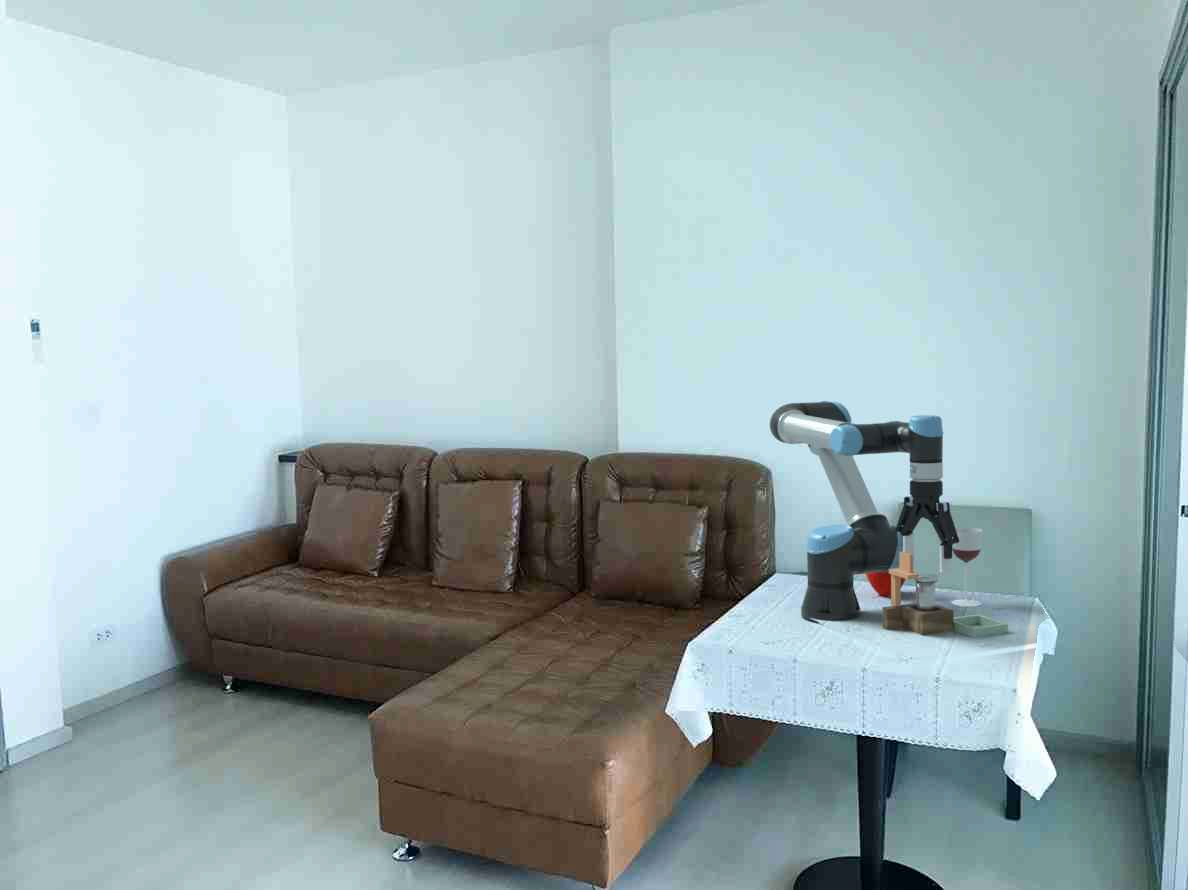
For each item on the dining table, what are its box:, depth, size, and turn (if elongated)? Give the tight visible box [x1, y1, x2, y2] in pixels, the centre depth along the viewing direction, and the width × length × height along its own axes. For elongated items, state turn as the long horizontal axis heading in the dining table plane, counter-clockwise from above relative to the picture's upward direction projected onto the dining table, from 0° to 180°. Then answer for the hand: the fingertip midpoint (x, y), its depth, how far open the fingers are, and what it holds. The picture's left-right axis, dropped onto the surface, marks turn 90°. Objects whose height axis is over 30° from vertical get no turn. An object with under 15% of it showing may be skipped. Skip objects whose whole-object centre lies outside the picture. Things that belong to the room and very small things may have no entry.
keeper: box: [889, 551, 919, 607], centre depth 236 cm, size 7×3×13 cm, turn 20°
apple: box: [865, 571, 907, 597], centre depth 275 cm, size 12×12×13 cm
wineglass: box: [951, 526, 984, 607], centre depth 263 cm, size 8×9×20 cm
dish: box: [953, 613, 1009, 639], centre depth 236 cm, size 10×10×3 cm
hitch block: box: [882, 602, 954, 636], centre depth 237 cm, size 9×14×6 cm, turn 110°
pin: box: [913, 572, 939, 612], centre depth 237 cm, size 6×6×13 cm
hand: (926, 566), depth 236 cm, fingers open, 13 cm apart
